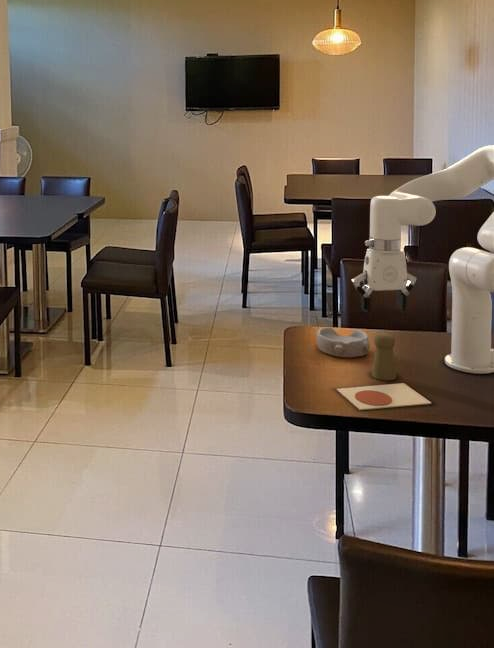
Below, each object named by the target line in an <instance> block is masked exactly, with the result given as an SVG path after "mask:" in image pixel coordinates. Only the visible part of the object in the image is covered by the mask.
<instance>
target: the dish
mask: <svg viewBox="0 0 494 648" xmlns="http://www.w3.org/2000/svg"><path fill="white" fill-rule="evenodd" d="M316 343H317V347H318V349H319V350H320V352H323V353H325V354H326V355H327V354H328V355H329V356H330V355H331V356H335V357H337V358H338V357H339V358H358V357H363V356H366V355H367V354H368V352H369V350H370V348H371V344H370V342H369V336H368V334H367V333H366V332H364V331H362V330H359V329H355V330H354V331H352V333H351V334H348V335H341V334H339V333H338V332H336V330H334V328H333V327H332V326H326V327H322V328H319V329H317V334H316Z"/></svg>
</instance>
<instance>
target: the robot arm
mask: <svg viewBox="0 0 494 648" xmlns="http://www.w3.org/2000/svg"><path fill="white" fill-rule="evenodd" d="M491 181H494V145H485V146H482V147H480V148H478V149H476V150H475V151H473V152H471V153H470V154H469V155H467V156H465V157H463V158H461V159H460V160H459V161H457V162H455V163H454V164H452V165H450V166H448V167H447V168H444V169H442V170H438V171H434V172H432V173H429V174H426V175H423V176H420V177H418V178H414V179H411V180H410V181H408V182H406V183H404V184H403V185H401V186H399V187H398V188H397V189H394V190H393V191H392V192H390V194H388V195H375V196H373V197H372V198H371V199H370V203H369V204H370V205H369V206H370V207H369V236H368V240H365V241H364V245H365V246H366V247H368V248H367V249H366V252H365V256H364V262H363V271H362V273H360V274H358V275H357V276H355V277H353V278H352V279H351V283H352V285H353V287H354V290H355V291H356V292H357V293H358V294H359V296H360V308H361V310H362V311H363V312H364V313H368V314H370V313H371V300H372V299H371V297H370V295H371V294H372V292H373V291H376V292H383V291H384V292H385V291H397V293H396V305H395V306H396V308H397V309H398V310H400V311H401V312H405V311H406V307H407V299H408V297H407V296H409V294H410V292H411V291H412V290H413V289H414V286H415V283H416V281H417V277H416V276H414V275H412V274H410V273H409V272H408V270H407V260H406V255H405V251H404V249H402V226H403V225H407V226H416V227H417V226H418V227H420V226H421V227H422V226H425V225H428V224H430V223H431V222H432V221H433V220H434V219H435V216H436V214H437V213H436V212H437V211H436V206H435V204H434V203H433V202H437V201H448V200H449V201H450V200H455V199H461V198H465V197H467V196H469V195H471V194H472V193H474V192H475V191H477V190H479V189H480V188H482V187H484V186H485V185H487V184H489V183H490V182H491ZM476 238H477V243H478V244H479V245H480V247H482V248H483V249H484V250H483V249H479V248H476V247H468V246H466V247H460V248H458V249H456V250H455V251H453V253H452V254H451V256H450V258H449V261H448V272H449V277H450V283H451V294H452V295H451V299H452V300H451V344H450V345H451V346H450V349H451V351H450V354H447V355H446V356H445V357H444V363H445V365H446V366H447V367H449V368H451V369H453V370H455V371H456V370H457V371H460V372H463V373H469V374H478V375H483V374H484V375H485V374H491V373H494V348H492V319H493V316H492V314H493V302H492V301H493V300H492V295H491V293H494V211H493V212H492V213H491V214H490V216H489V217H488V218H487V219H486V221H485V222H484V223H483V224H482V225H481V227H480V228H479V230H478V232H477V236H476ZM361 282H362V283H363V286H361Z"/></svg>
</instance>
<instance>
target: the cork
mask: <svg viewBox="0 0 494 648" xmlns="http://www.w3.org/2000/svg"><path fill="white" fill-rule="evenodd" d="M373 344H374V345H375V350H374V358H373V364H372V370H371V377H373V378H375V379H377V380H381V381H394V380H396V379H397V372H396V371H397V370H396V364H395V363H396V362H395V356H394V355H395V353H394V347H395V345H396V338H395V337H394V335H392V334H390V333H387V332H378V333H376V334H374V337H373Z"/></svg>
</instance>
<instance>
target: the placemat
mask: <svg viewBox="0 0 494 648" xmlns="http://www.w3.org/2000/svg"><path fill="white" fill-rule="evenodd" d="M336 391H337V392H338V393H339V394H341V395H342V396H343V397H344V398H345V399H346V400H347V401H349V402H350V403H351V404H352V405H353V406H354V407H356V408H357V409H358V410H359V411H366V410H367V411H368V410H379V409H391V408H399V407H400V408H401V407H402V408H403V407H412V406H423V405H425V406H426V405H432V404H433V403H432V402H431V400H428V399H427V398H425V397H424V396H423V395H421V394H420V393H418V392H417V391H416V390H414V389H413V388H412V387H410V386H409V385H408V384H406V383H404V382H402V383H401V382H400V383H389V384H377V385H365V386H352V387H342V388H341V387H339V388H336Z"/></svg>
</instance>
